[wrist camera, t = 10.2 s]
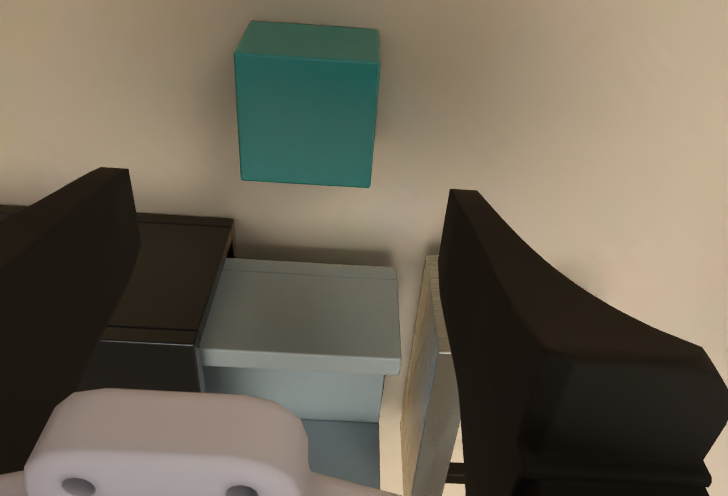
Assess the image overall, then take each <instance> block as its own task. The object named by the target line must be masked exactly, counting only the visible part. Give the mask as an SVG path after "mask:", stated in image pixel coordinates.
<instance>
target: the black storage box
mask: <svg viewBox="0 0 728 496" xmlns="http://www.w3.org/2000/svg"><path fill="white" fill-rule="evenodd" d="M25 208H27V207H24V206H7V205H0V221H2V220H4V219H6V218H8V217H10V216H12V215H13V214H15V213H17V212H19V211H21V210H23V209H25ZM136 214H137V220H138V226H139V231H140V237H141V243H142V245H141V248H140V251H139V254H138V258H137V261H136V264H135V267H134V270H133V273H132V276H131V279H130V281H129V283H128V285H127V287H126V289H125V291H124V293H123V295H122V297H121V299H120V301H119V303H118V305H117V307H116V309H115V311H114V313H113V315H112V317H111V319H110V321H109V323H108V325H107V327H106V329H105V330H104V332H103V334H102V336H101V338H100V340H99V342H98V344H97V346H96V348H95V350H94V352H93V354H92V356H91V358H90V360H89V362H88V365H87V367H86V369H85V371H84V374H83V376H82V379H81V382H80V385H79V387H78V390H77V392H81V391H89V390H96V389H104V388H118V389H137V390H157V391H177V392H196V393H206V392H205V384H204V376H203V368H202V360H201V352H200V344H199V343H200V342H201V339H202V335H203V332H204V329H205V325H206V322H207V319H208V316H209V312H210V309H211V306H212V303H213V299H214V296H215V293H216V290H217V286H218V283H219V280H220V277H221V273H222V270H223V267H224V264H225V260H226V258H237V257H236V243H235V228H234V220H233V219H229V218H212V217H195V216H177V215H160V214H143V213H136Z"/></svg>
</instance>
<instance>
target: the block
mask: <svg viewBox="0 0 728 496" xmlns="http://www.w3.org/2000/svg"><path fill="white" fill-rule="evenodd" d="M234 68H235V86H236V103H237V120H238V138H239V155H240V172H241V179H242V180H245V181H262V182H278V183H295V184H311V185H328V186H344V187H361V188H369V187H370V184H371V172H372V160H373V148H374V136H375V124H376V112H377V100H378V88H379V76H380V41H379V30H377V29H363V28H349V27H334V26H320V25H305V24H291V23H277V22H262V21H251V22H250V23H249V25H248V27H247V29H246V31H245V33H244V35H243V37H242V39H241V41H240V43H239V45H238V47H237V48H236V50H235V52H234Z"/></svg>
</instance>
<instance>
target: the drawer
mask: <svg viewBox="0 0 728 496" xmlns="http://www.w3.org/2000/svg"><path fill="white" fill-rule="evenodd" d="M199 344H200V352H201V360H202V368H203V376H204V384H205V392H206V393H216V394H236V395H249V396H253V397H257V398H262V399H266V400H271V401H275V402H277V403H278V404H280V405H281V406H282V407H284V408H285V409H287V410H288V411H290V412H291V413H292V414H294V415H295V416H297V417H298V418H300V419H301V422H302V424H303V427H304V429H305V432H306V434H307V437H308V463H309V468H310V470H311V471H312V472H315V473H318V474H322V475H326V476H330V477H334V478H337V479H341V480H345V481H349V482H352V483H356V484H360V485H364V486H367V487H371V488H375V489H379V490H380V451H379V418H380V410H381V402H382V394H383V386H384V378H385V375H396V376H397V375H399V373H400V366H401V342H400V325H399V308H398V291H397V275H396V268H394V267H379V266H361V265H343V264H326V263H308V262H290V261H272V260H255V259H237V258H226V260H225V264H224V267H223V270H222V273H221V277H220V280H219V283H218V286H217V290H216V293H215V296H214V299H213V303H212V306H211V309H210V312H209V316H208V319H207V322H206V325H205V329H204V332H203V335H202V339H201V342H200V343H199ZM460 419H461V418H460V407H459V395H458V387H457V381H456V374H455V369H454V364H453V360H452V355H451V350H450V345H449V340H448V335H447V331H446V326H445V321H444V316H443V311H442V306H441V300H440V292H439V277H438V256H436V255H427V256H426V262H425V269H424V275H423V281H422V288H421V294H420V300H419V307H418V313H417V319H416V326H415V332H414V339H413V345H412V351H411V358H410V364H409V370H408V377H407V383H406V389H405V396H404V402H403V409H402V415H401V421H400V432H401V452H402V472H403V492H404V496H442V493H443V489H444V485H445V483H455V484H465V472H464V463H452V462H450V460H451V456H452V452H453V448H454V444H455V440H456V436H457V432H458V428H459V423H460Z"/></svg>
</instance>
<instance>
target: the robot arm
mask: <svg viewBox="0 0 728 496" xmlns="http://www.w3.org/2000/svg"><path fill="white" fill-rule="evenodd" d="M141 245H142V243H141V237H140V231H139V226H138V220H137V214H136V209H135V203H134V198H133V192H132V186H131V181H130V175H129V169H122V168H106V167H100V168H98V169H96V170H93V171H91V172H89V173H87V174H86V175H84V176H82V177H80V178H78V179H77V180H75V181H73V182H71V183H69V184H68V185H66V186H64V187H63V188H61V189H59V190H57V191H56V192H54V193H52V194H50V195H49V196H47V197H45V198H43V199H42V200H40V201H38V202H36V203H34V204H33V205H31V206H29V207H27V208H25V209H23V210H21V211H19V212H17V213H15V214H13V215H12V216H10V217H8V218H6V219H4V220H2V221H0V496H401V495H397V494H394V493H390V492H386V491H382V490H379V489H375V488H371V487H367V486H364V485H360V484H356V483H352V482H349V481H345V480H341V479H337V478H334V477H330V476H326V475H322V474H318V473H315V472H312V471H311V470H310V468H309V463H308V437H307V434H306V432H305V429H304V427H303V424H302V422H301V419H300V418H298V417H297V416H295V415H294V414H292V413H291V412H290V411H288V410H287V409H285V408H284V407H282V406H281V405H280V404H278V403H277V402H275V401H271V400H266V399H262V398H257V397H253V396H249V395H236V394H216V393H196V392H177V391H157V390H137V389H118V388H104V389H96V390H89V391H81V392H77V390H78V387H79V385H80V382H81V379H82V376H83V374H84V371H85V369H86V367H87V365H88V362H89V360H90V358H91V356H92V354H93V352H94V350H95V348H96V346H97V344H98V342H99V340H100V338H101V336H102V334H103V332H104V330H105V329H106V327H107V325H108V323H109V321H110V319H111V317H112V315H113V313H114V311H115V309H116V307H117V305H118V303H119V301H120V299H121V297H122V295H123V293H124V291H125V289H126V287H127V285H128V283H129V281H130V279H131V276H132V273H133V270H134V267H135V264H136V261H137V258H138V254H139V251H140V248H141ZM438 277H439V292H440V300H441V306H442V311H443V316H444V321H445V326H446V331H447V335H448V340H449V345H450V350H451V355H452V360H453V364H454V369H455V374H456V381H457V387H458V395H459V407H460V418H461V430H462V443H463V457H464V472H465V489H466V496H709V494H708V492H707V490H706V488H705V487H709V486H710V484H711V483H712V478H711V475H710V473H709V471H708V469H707V467H706V465H705V463H704V461H703V460H704V458H705V456H706V455H707V453H708V452H709V450H710V449H711V447H712V446H713V444H714V442H715V441H716V439H717V438H718V436H719V435H720V433H721V431H722V430H723V428H724V427H725V425H726V423H727V421H728V389H727V386H726V385H725V383H724V381H723V379H722V378H721V376H720V374H719V373H718V371H717V369H716V368H715V366H714V364H713V363H712V361H711V360H710V358H709V356H708V355H707V353H706V352H705V351H704V349H703V348H702V347H700V346H698V345H695V344H693V343H690V342H688V341H685V340H683V339H680V338H678V337H675V336H673V335H670V334H668V333H665V332H663V331H660V330H658V329H656V328H653V327H651V326H649V325H647V324H645V323H643V322H641V321H639V320H637V319H635V318H633V317H631V316H629V315H627V314H625V313H623V312H621V311H619V310H617V309H616V308H614V307H612V306H610V305H608V304H607V303H605V302H603V301H602V300H600V299H598V298H597V297H595V296H594V295H592V294H590V293H589V292H587V291H586V290H584V289H583V288H581V287H580V286H578V285H577V284H575V283H574V282H572V281H571V280H570V279H568V278H567V277H566V276H564V275H563V274H562V273H560V272H559V271H558V270H556V269H555V268H554V267H552V266H551V265H550V264H549V263H548V262H546V261H545V260H544V259H543V258H542V257H541V256H540V255H538V254H537V253H536V252H535V251H534V250H533V249H532V248H531V247H530V246H529V245H527V244H526V243H525V242H524V241H523V240H522V239H521V238H520V237H519V236H518V235H517V234H516V233H515V232H514V231H513V230H512V229H511V227H510V226H509V225H508V224H507V223H506V222H505V221H504V220H503V219H502V218H501V217H500V216H499V215H498V213H497V212H496V211H495V210H494V209H493V208H492V207H491V206H490V204H489V203H488V202H487V201H486V200H485V199H484V198H483V197H482V195H481V194H480V193H479V192H478V191H476V190H460V189H450V192H449V198H448V204H447V209H446V215H445V221H444V227H443V233H442V239H441V244H440V250H439V256H438Z"/></svg>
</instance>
